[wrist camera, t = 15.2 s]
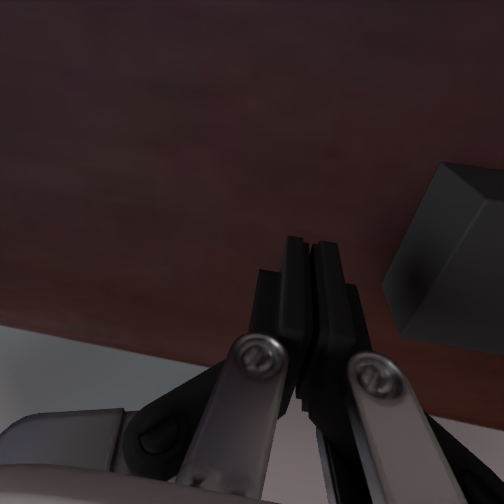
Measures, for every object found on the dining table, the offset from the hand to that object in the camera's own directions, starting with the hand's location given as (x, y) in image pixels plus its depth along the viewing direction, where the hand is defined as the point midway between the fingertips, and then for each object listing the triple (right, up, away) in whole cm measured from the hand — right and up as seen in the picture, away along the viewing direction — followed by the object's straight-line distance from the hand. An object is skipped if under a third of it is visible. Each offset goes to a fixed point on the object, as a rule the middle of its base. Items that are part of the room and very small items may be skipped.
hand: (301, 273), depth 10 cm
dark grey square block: (+8, +1, +3) cm, 9 cm away
